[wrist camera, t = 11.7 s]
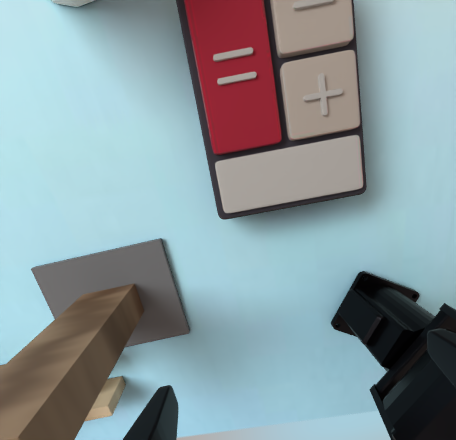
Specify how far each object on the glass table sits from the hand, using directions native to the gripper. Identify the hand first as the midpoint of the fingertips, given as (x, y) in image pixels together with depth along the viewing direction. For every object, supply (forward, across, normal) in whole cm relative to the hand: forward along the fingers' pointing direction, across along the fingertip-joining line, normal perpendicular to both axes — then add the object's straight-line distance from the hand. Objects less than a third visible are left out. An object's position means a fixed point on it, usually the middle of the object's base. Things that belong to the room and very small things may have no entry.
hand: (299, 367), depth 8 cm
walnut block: (+13, +14, +3) cm, 19 cm away
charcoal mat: (+13, +14, +3) cm, 19 cm away
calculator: (+14, -4, -11) cm, 18 cm away
